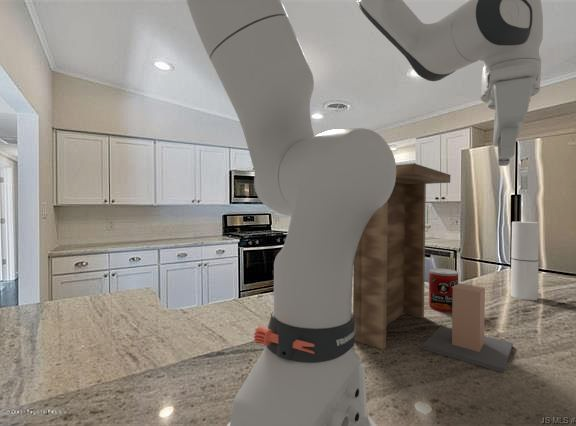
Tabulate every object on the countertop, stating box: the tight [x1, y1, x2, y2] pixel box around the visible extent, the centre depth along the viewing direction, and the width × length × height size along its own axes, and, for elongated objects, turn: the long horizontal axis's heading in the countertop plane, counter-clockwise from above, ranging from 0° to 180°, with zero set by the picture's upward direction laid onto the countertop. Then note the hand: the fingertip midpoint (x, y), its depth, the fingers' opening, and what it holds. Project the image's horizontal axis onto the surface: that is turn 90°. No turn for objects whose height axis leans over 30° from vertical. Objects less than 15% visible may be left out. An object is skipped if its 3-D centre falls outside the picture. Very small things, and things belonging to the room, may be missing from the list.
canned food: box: [428, 267, 459, 313], centre depth 91 cm, size 8×8×11 cm
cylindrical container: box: [510, 221, 540, 301], centre depth 102 cm, size 7×7×25 cm
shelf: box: [352, 163, 451, 351], centre depth 73 cm, size 13×26×38 cm, turn 139°
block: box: [451, 282, 486, 352], centre depth 65 cm, size 5×5×12 cm
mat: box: [422, 325, 514, 374], centre depth 65 cm, size 14×14×1 cm
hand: (505, 161), depth 56 cm, fingers open, 8 cm apart
